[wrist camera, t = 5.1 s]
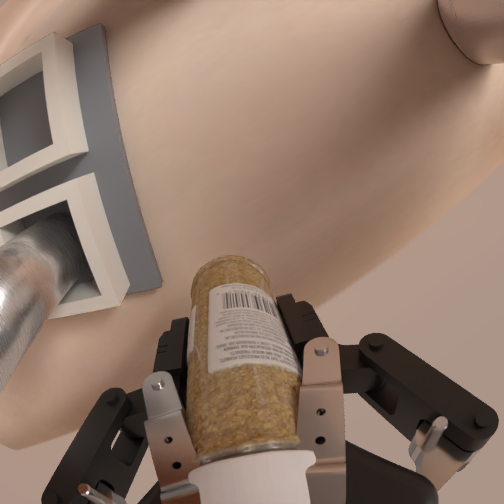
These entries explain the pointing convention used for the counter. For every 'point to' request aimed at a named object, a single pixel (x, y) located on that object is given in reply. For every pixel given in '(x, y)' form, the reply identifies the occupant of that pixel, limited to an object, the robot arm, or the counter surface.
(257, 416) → the sprinkles bottle
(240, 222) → the counter surface
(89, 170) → the grey and white holder
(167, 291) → the counter surface
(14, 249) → the cylinder
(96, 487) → the robot arm
